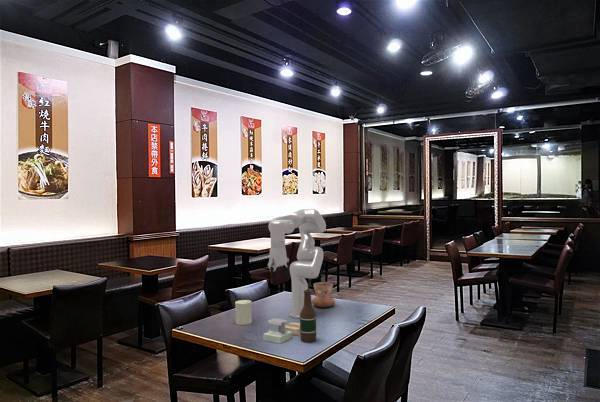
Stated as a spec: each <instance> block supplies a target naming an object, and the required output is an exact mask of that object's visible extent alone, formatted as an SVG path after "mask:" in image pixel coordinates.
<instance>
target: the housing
mask: <svg viewBox="0 0 600 402" xmlns="http://www.w3.org/2000/svg"><path fill="white" fill-rule="evenodd" d="M267 323H268V324H270V329H268V330H267V331H268V333H272V334H277V335H284V334H286V333H288V330H285V325H286V324H288V320H286V319H283V318H278V317H277V318H274V317H273V318H271V319H268V320H267Z"/></svg>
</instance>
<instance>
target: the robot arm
mask: <svg viewBox="0 0 600 402" xmlns="http://www.w3.org/2000/svg"><path fill="white" fill-rule="evenodd" d="M326 223H327V222H326V220H325V219H324V217H323V216H322V214H321V213H320V212H319V211H318V210H317V209H315V208H311V209H309V208H308V209H306V208H305V209H304V208H303V209H299V210H297V211H294V212H292V213H290V214H285V215H281V216H277V217H275V218H273V219H271V220H270V221H269V223H268V230H269V232H270V235H269V236H270V249H269V253H268V254H269V257H268V259H269V260H268V263H267V266H268V267H267V268H268V269H269V272H270V279H272V280H276V279H277V271H276V270H277V268H279V267H281V275H282V276H288V265H289V262H290V258H288V256H287V249H286V235H285V234H287V235H289V234H291V233H293V232H294V230H295V229H297V228H298V229H299V234H300V243H299V246H298V250H297V254H296V259H297V260H296V261H293V262H291V264H290V265H289V274H290V279H291V304H292V305H291V309H292V311H291V312H289V316H290V318H296V319H300V313H301V310H302V308H303V306H304V290H309V283H308V282H307V280H306V279H317V278H318V277H319V274H320V270H321V267H322V264H323V261H324V250H323V248H322V247H320V246H315V245H316V244H315V243H316V242H315V239H314V237H313V236H312V235H311V234H321V233H324V232H325V231H326V228H327V225H326Z"/></svg>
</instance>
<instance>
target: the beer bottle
mask: <svg viewBox="0 0 600 402" xmlns="http://www.w3.org/2000/svg"><path fill="white" fill-rule="evenodd" d="M299 323H300V334H299V336H300V341H302V342H303V343H313V342H315V341H317V315H316V310H315V309H314V307H313V304H312V290H311V289H308V290H304V306H303V308H302V310H301V313H300V318H299Z"/></svg>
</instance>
